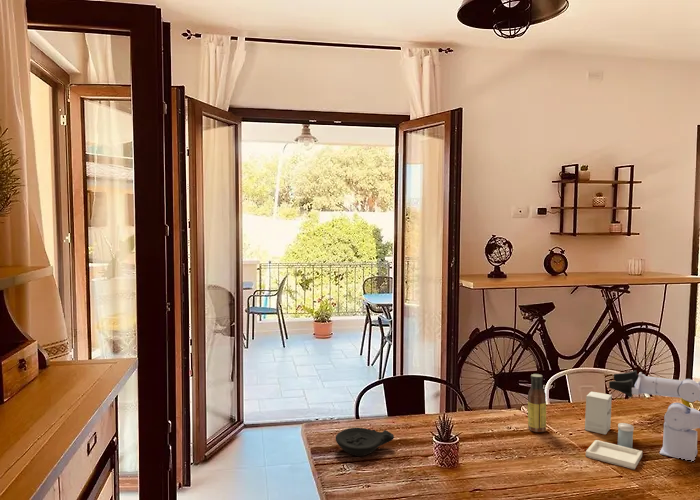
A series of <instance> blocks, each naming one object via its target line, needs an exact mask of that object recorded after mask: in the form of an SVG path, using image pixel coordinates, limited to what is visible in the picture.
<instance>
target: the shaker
mask: <svg viewBox="0 0 700 500" xmlns="http://www.w3.org/2000/svg"><path fill="white" fill-rule="evenodd" d="M634 428H635V427H634V425H632V424H630V423H627V422H626V423H625V422H619V423H618V424H617V431H618V432H617V445H620V446H624V447H628V448H632V449H633V440H634V439H633V438H634V437H633V436H634Z"/></svg>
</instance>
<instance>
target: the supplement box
mask: <svg viewBox="0 0 700 500" xmlns="http://www.w3.org/2000/svg"><path fill="white" fill-rule="evenodd" d="M584 414H585V415H584V417H585V418H584V420H585V421H584V430H585V431H588V432H592V433H597V434H602V435H607V433H608V432H609V431H610V430H611V425H612V424H611V423H612V419H611V418H612V394H607V393H603V392H596V391H590V392H589V393H588V394H586V396H585V412H584Z"/></svg>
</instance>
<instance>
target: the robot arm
mask: <svg viewBox="0 0 700 500" xmlns="http://www.w3.org/2000/svg"><path fill="white" fill-rule="evenodd" d="M608 386H609V389H612V390H614V391H618V392H620V393H623V394H625V395H626V396H628V397H629V398H632V397H633V395H637V396H639V395H640V394H641V395H642V394H644V395H651V396H652V395H653V396H662V397H669V398H678V399H679V398H680V399H682V400H684V401H686V402H689V403H694V402H696V401H698V402H700V381H698V382H697V381H696V380H693V379H691V378H685V379H683V380H681V379H674V378H665V377H658V376H648V375H647V376H646V374H644V373H643V372H642V371H640V372H639V373H638V371H637V369H636V370H635V369H634V370H633V371H632V370H631V371H629V372H623V373H613V380H611V381H610V380H609V383H608ZM663 418H664V422H663V432H662V433H663V435H662V436H663V437H662V447H661V448H660V451H659V455H663V456H667V457H672V458H676V459H679V458H681V460H683V459H685V460H684V461H687V460H691V461H690V462H692V461H694V460H696V458H695V457H697V455H698V431H697V430H695V429H700V410H698V409H696V408H693V407H689V406H687V405H685V404H683V403H682V402H672V403H670V404H669V405H668V407H667V409H666V412H665V414H664V417H663ZM694 462H695V461H694Z"/></svg>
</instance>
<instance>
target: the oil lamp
mask: <svg viewBox="0 0 700 500" xmlns="http://www.w3.org/2000/svg"><path fill="white" fill-rule="evenodd" d="M394 438H395V436H394V434H393V433H391V432H390V431H388V430H386V429H385V430H383V431H376V430H375V429H372V430H371V429H368V428H365V427H364V428H363V427H350V428H346V429H343V430H341V431H340V432H338V433H337V434H336V436H335V441H336V444H337V445H338V446H339V447H340V448H341V449H342V450H343V451H344V452H345V453H347V454H350V455H353V456H357V457H362V456H367V455H369V454H372V453H374V451H376V450H377V449H378V448H380V446H383V445H385V444H388V443H389V442H392V441H393V440H394Z"/></svg>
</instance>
